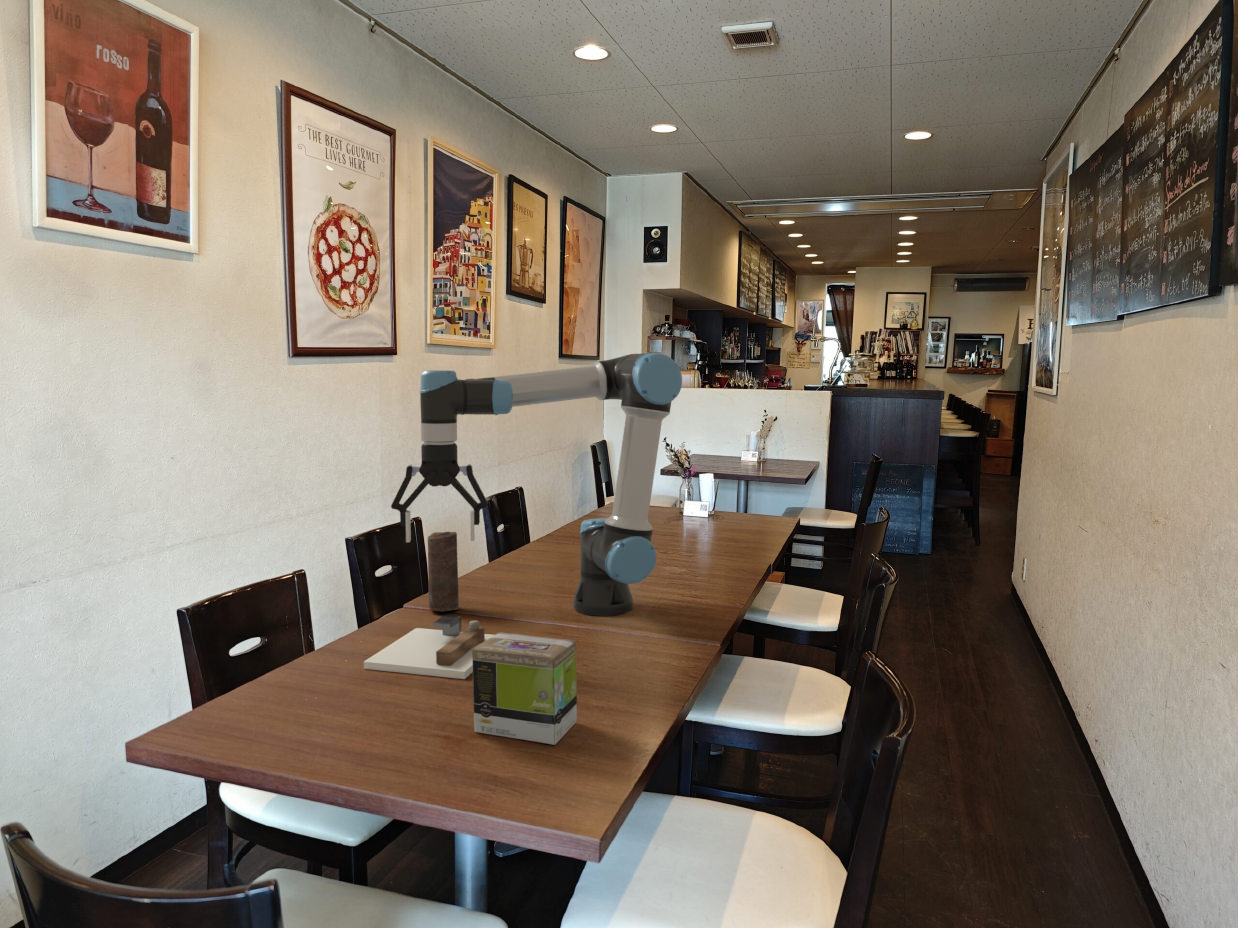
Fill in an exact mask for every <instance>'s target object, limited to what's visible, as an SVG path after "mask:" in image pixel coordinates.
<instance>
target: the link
mask: <svg viewBox="0 0 1238 928" xmlns="http://www.w3.org/2000/svg"><path fill="white" fill-rule="evenodd" d="M468 624H469V626H467V627H464V629H463V631H461V632H462V633H461V634H460V635H458V636H457V637H456V638H454V639H453V640H452V641H450V642H449V643H447V644H446V645H445V646H443V647H442V648H441V649H439V650H438V651H437V652H436V664H442V665H451V664H452V663H454V662H455V661H456V660H457V659H459V658H460V657H461V656H462V655H464V654H465V653H466V652H467V651H469V650H470V649H471V648H472V647H474V646H475V645H476V644H477V643H481V642H483V641H484V640H485V634H486V633H485V627H483V626H481V625H479V624H480V623H479V620H471V621H469V623H468Z"/></svg>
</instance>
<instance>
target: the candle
mask: <svg viewBox="0 0 1238 928" xmlns="http://www.w3.org/2000/svg"><path fill="white" fill-rule="evenodd" d="M427 565H428V566H427V569H428V589H427V590H428V608H429V610H430V611H434V612H439V613H440V612H449V611H456V610H459V603H460V602H459V570H458V533H457V532H456V531H443V532H441V531H439V532H437V531H435V532H432V533H431V534H430V535H428V536H427Z"/></svg>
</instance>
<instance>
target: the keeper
mask: <svg viewBox="0 0 1238 928" xmlns="http://www.w3.org/2000/svg"><path fill="white" fill-rule="evenodd" d="M432 628H435V629H436V628H437V629H441V630H443V635H448V636H458V635H460V634H461V632H462V616H459V615H450V614H449V615H448V614H444V615H442V616H441V617H439V618H438V619H436V620H435V621H433V622H432Z"/></svg>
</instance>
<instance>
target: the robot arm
mask: <svg viewBox="0 0 1238 928" xmlns="http://www.w3.org/2000/svg"><path fill="white" fill-rule="evenodd" d="M682 385H683V376H682V372H681V369H680V367H679V366H678V364H677V363H676V361H675V360H674V359H673V358H671V357H670V356H668V355H666V354H664V353H658V352H651V351H648V352H644V353H630V354H626V355H623V356H619V357H614V358H610V359H606V360H599V361H595V362H593V364H592V365H590V366H580V367H572V368H571V367H570V368H563V369H553V370H543V371H535V372H534V371H533V372H528V373H527V372H525V373H517V374H516V373H515V374H509V375H499V376H491V377H481V378H466V379H460V378H459V379H458V376H457V372H456V371H454V370H428V369H427V370H424V371H423V372H422V373H421V374H420V390H419V394H420V397H419V398H420V399H419V400H420V401H419V402H420V441H421V442H423V443H422V445H421V446H420V447H421V451H420V453H421V454H420V455H421V462H420V463H421V464H420V466H417V465H415V466H413V465H412V464H408V465H407V466H406V470H405V477H404V479H403V481H402V483H401V485H400V487H399V488H398V491H397V492H396V495H395V497H394V499H393V500H392V503H391V505H390V507H391V509H393V510H397V511H399V514H400V515H399V516H400V517H399V518H400V519H399V522H400V523H399V524H400V526H401V527H405V543H411V540H412V537H411V536H412V531H411V529H412V528H411V527H412V525H411V509H408V508H409V507H410V506H411V505H412V503H414V501H415V500H416V499H417V497H419V495H420V494H421V493H422V491H424V490H425V488H426V487H427V486H428V485H429V486H431V487H439V486H441V487H448V486H450V485H451V486H452V487H453V488H454V489H455V490H456V491H457V492H458V493H459V494H460V495H461V496H462V497H463V498H464V500H465V501H466V502H467V504H468V505H470V507H471V508H472V509H470V542H474V541H475V538H476V537H475V536H476V535H475V526H479V525H480V523H481V519H480V518H481V517H480V515H481V514H480V511H481V510H482V509H484V508H487V507H488V506H489V504H488V503H489V502H488V499H487V498H486V496H485V495H484V493H483V491H482V489H481V487H480V485H479V483H478V481H477V479H476V477H475V476H474V472H473V466H472V464H469V463H468V464H467V465H459V463H458V445H457V443H456V442H457V441H458V415H461V416H462V415H477V416H479V415H483V416H485V415H489V416H490V415H494V416H498V415H508V414H509V413H510V412H511V411H512V408H514V407H523V406H530V405H532V406H533V405H539V404H547V403H554V402H556V403H557V402H562V401H563V402H564V401H571V400H580V399H589V398H590V399H591V398H596V399H597V400H598V401H606V400H617V401H618V400H621V403H620V408H621V410H622V411H623V413H624V414H625V421H624V427H623V435H622V441H621V450H620V457H619V463H618V470H617V478H616V484H615V491H614V499H613V507H612V513H611V515H610V516H609V517H602V518H598V517H597V518H589V519H584V520H583V521H582V522H581V523H580V524H581V525H580V531H579V536H580V538H579V539H580V540H579V541H580V549H579V550H580V578H579V581H578V584H577V588H576V591H575V594H574V597H573V608H574V610H575V611H576V612H578V613H581V614H584V615H590V616H600V617H601V616H602V617H603V616H605V617H606V616H607V617H608V616H616V615H622V614H626V613H628V612H630V611H632V610H633V608H634V600H633V599H634V598H633V595H632V592H631V589H630V585H633V584H637V583H640V582H642V581H644V580H645V579H646V578H647V577H649V576H650V575H651V573H652V572H653V570H654V569H655V566H656V564H657V563H656V562H657V551H656V549H655V546H654V545H653V543H652V538H653V531H654V528H653V526H652V525H651V523H650V522H649V519H648V518H649V512H650V505H651V501H652V500H651V499H652V492H653V485H654V479H655V473H656V472H655V471H656V465H657V458H658V451H659V444H660V438H661V437H660V436H661V432H662V431H661V430H662V425H663V423H662V422H663V420H664V419H665V418H666V417H668V416H669V415H670V413H671V406H672V401H674V400H675V399H676V398H677V397H678V396H679V394H680V392H681V390H682ZM460 472H461V473H462V474H463V475H464V476H465V477H466V476H467V477H466V478H467V479H468V481H469V484H470V485H471V488H472V489H473V491H474V493H475V495H476V497H477V498H478V500H479V502H477V501H476V499H475V498H474V497H473V496H472V495H471V493H470V492H468V490H467V489H466V488H465V487H464V486H463V485H462V484H461V482H460V481H459V480H458V479H457V478H456V477H458V474H460ZM417 473H420V475H421V476H422V478H423V480H422V481H421V483H420V484H419V485H417V487H416V488H415V489H414V491H413V492H412V493H411V494H410V495H409V496H408V498H407V499H406V500H405V501H404V502H403V504H402V503H400V502H401V500H402V498H403V496H404V494H405V492H406V490H407V488H408V486H409V484H410V481H411V480H412V478H413V477H415V476H416V475H417Z"/></svg>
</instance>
